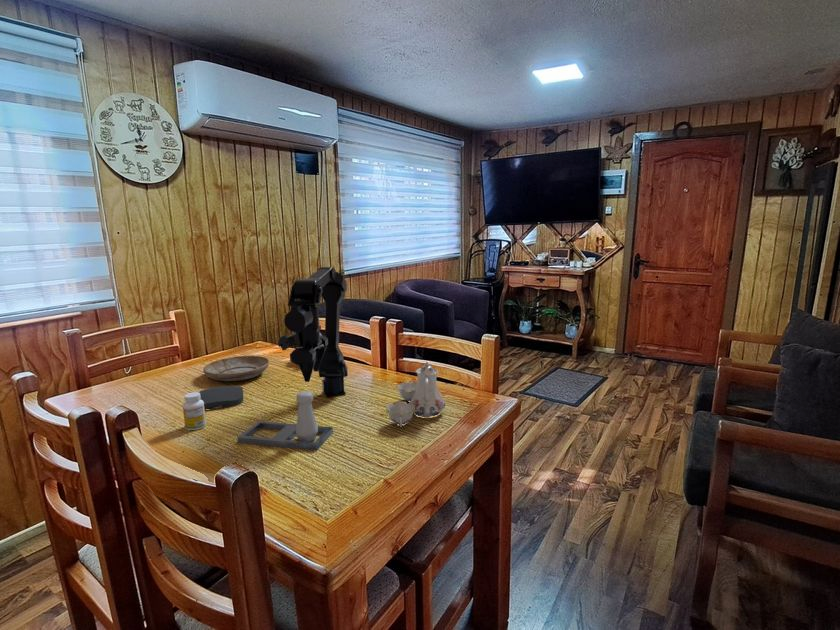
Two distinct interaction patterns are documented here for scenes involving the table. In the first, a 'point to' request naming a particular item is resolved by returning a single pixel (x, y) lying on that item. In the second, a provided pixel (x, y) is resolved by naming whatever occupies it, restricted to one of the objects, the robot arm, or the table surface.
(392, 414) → the chinaware
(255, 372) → the ceramic bowl
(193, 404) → the supplement bottle
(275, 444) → the hole plate
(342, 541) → the table surface
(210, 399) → the media streaming box
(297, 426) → the salt shaker
